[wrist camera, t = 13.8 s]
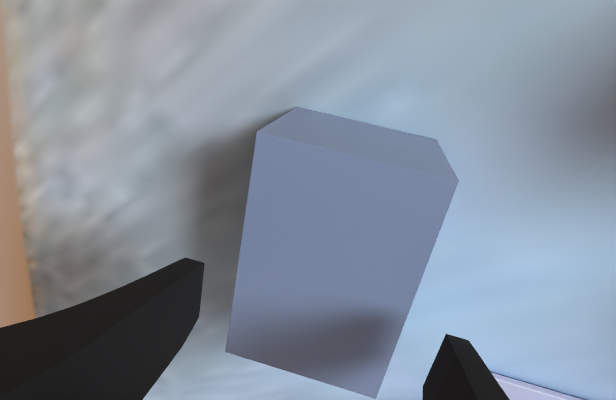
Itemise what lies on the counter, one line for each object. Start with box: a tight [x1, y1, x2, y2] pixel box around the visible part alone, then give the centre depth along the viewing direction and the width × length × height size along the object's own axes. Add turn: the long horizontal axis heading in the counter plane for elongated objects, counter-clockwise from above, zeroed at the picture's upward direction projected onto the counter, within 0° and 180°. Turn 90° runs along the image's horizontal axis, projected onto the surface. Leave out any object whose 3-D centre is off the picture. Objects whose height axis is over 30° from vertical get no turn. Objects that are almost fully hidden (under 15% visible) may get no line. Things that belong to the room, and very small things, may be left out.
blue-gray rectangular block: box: [226, 107, 458, 399], centre depth 15 cm, size 9×6×5 cm
